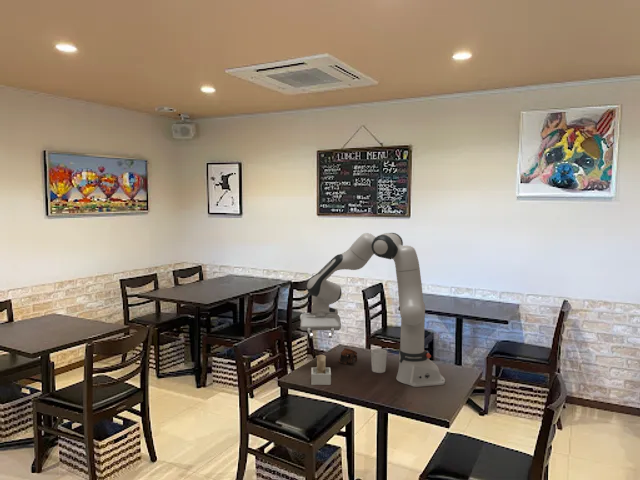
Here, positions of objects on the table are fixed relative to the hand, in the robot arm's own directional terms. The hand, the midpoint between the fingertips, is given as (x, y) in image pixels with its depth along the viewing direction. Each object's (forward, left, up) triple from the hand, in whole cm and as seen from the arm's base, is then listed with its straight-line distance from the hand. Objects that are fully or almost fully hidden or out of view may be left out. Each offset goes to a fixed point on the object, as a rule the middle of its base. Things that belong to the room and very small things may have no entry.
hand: (320, 337), depth 232 cm
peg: (0, +11, -18) cm, 21 cm away
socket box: (0, +11, -18) cm, 21 cm away
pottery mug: (-15, -16, -18) cm, 28 cm away
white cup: (-29, -3, -18) cm, 34 cm away
